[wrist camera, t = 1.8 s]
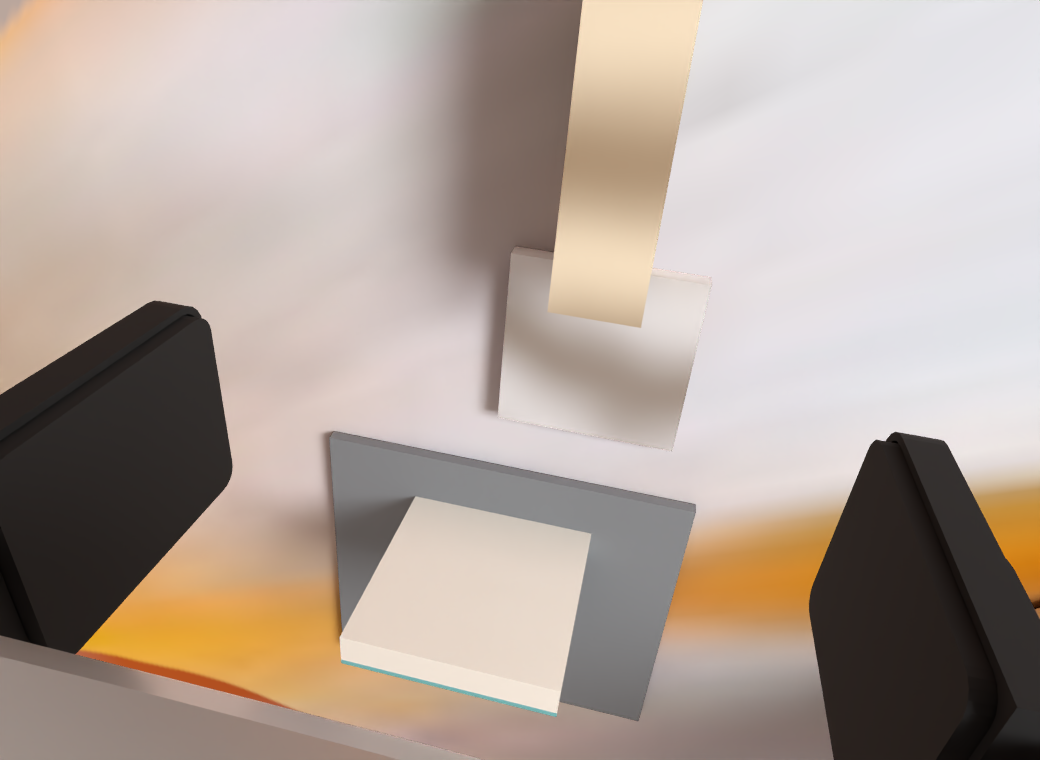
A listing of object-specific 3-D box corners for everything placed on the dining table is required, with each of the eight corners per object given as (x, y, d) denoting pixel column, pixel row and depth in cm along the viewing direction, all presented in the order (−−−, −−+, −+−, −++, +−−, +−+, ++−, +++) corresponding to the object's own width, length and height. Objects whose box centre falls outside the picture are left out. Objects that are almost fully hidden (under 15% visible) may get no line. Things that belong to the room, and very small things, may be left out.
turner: (543, -81, 21) (502, -94, 17) (791, -59, 20) (815, -65, 16) (502, 407, 30) (469, 480, 25) (672, 439, 29) (667, 522, 24)
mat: (695, 504, 30) (695, 512, 29) (639, 712, 37) (638, 721, 37) (334, 431, 32) (329, 437, 32) (347, 640, 39) (343, 647, 39)
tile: (591, 533, 31) (560, 691, 24) (587, 557, 32) (556, 717, 25) (415, 496, 32) (339, 637, 26) (415, 519, 33) (341, 663, 26)
